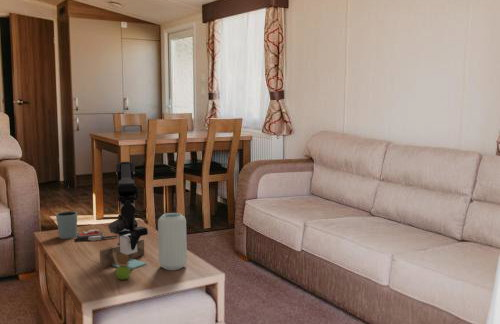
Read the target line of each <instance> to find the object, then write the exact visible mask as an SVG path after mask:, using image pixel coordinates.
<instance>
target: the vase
mask: <svg viewBox="0 0 500 324" xmlns="http://www.w3.org/2000/svg"><path fill="white" fill-rule="evenodd" d="M157 236H158V237H157V238H158V243H157V244H158V263H159V266H160V267H162V268H163V269H164V270H167V271H177V270H180V269H182V268H183V267H184V266H186V264H187V262H188V261H187V259H188V255H187V253H188V252H187V251H188V249H187V248H188V247H187V246H188V245H187V242H188V241H187V219H186V217H185V216H184V215H183V214H181V213H179V212H166V213H164V214H162V215H161V216H160V217H158V219H157Z"/></svg>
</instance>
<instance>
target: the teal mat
mask: <svg viewBox="0 0 500 324" xmlns="http://www.w3.org/2000/svg"><path fill="white" fill-rule="evenodd" d="M128 263H129V265H127V267H128V268H129V269H130V271H131V270H134V269H137V268H141V267H144V266H146V265H147V262H143V261H141V260H137V259H134V258H131V259H129V261H128ZM111 266H112V267H114V268H118V267H120V266H119V265H117V264H116V263H115V264H112V265H111Z"/></svg>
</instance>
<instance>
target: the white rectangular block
mask: <svg viewBox="0 0 500 324" xmlns="http://www.w3.org/2000/svg"><path fill="white" fill-rule="evenodd" d="M127 235H131V234H126V235H122V236H120V252H121V253H125V254H127V255H128V254H132V253H135V252H137V244H136V247H135V249H134V250H132V249H131V242H130V238H129V237H128V236H127Z"/></svg>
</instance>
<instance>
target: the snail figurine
mask: <svg viewBox="0 0 500 324" xmlns="http://www.w3.org/2000/svg"><path fill="white" fill-rule="evenodd" d="M112 251H114V249H113V250H112ZM113 257H114V260H115V263H116V264H117V265H119V266H120V267H118V268H117V267H116V268H117V269H116V270H115V275H116V277H117V278H118V279H119V280H121V281H122V280H126V279H128V278H129V277H130V275H131V270H130V269H129V268H128V267H127V265H129V263H128V261H129V256H128V255H127V254H125V253H122V254H120V255H119V256H118V258H117V257H116V253H115V252H113Z"/></svg>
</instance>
